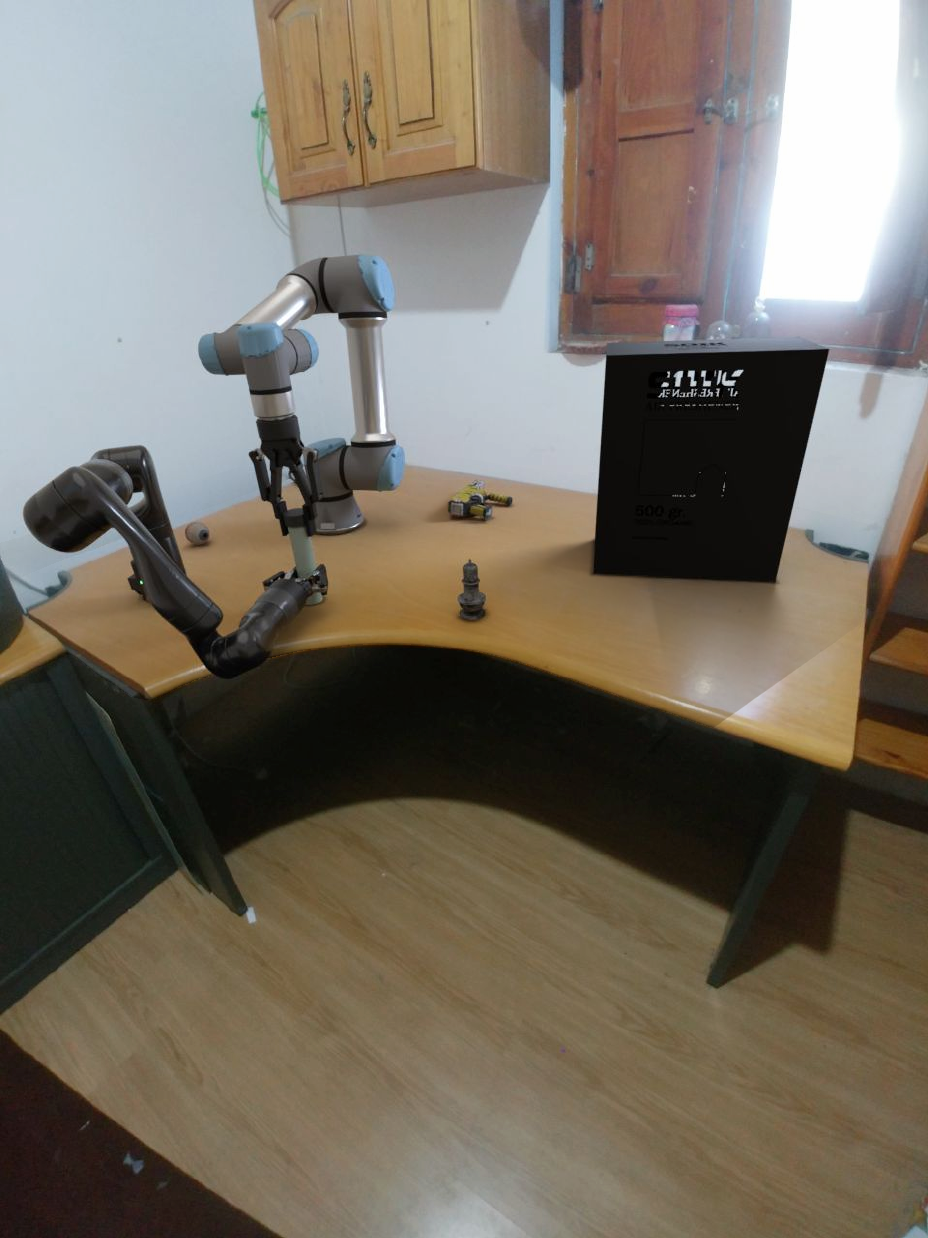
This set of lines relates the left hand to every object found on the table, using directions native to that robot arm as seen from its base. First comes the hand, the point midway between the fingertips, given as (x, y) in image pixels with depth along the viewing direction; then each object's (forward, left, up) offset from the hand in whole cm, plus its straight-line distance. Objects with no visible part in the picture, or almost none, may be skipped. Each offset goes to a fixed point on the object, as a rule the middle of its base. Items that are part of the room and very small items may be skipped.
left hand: (312, 567), depth 130 cm
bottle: (0, -3, -6) cm, 7 cm away
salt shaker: (+36, -6, -6) cm, 37 cm away
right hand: (0, -3, +9) cm, 9 cm away
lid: (0, -3, +13) cm, 13 cm away
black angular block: (+79, +23, -6) cm, 82 cm away
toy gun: (+30, +57, -6) cm, 64 cm away
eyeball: (-43, +26, -6) cm, 51 cm away
